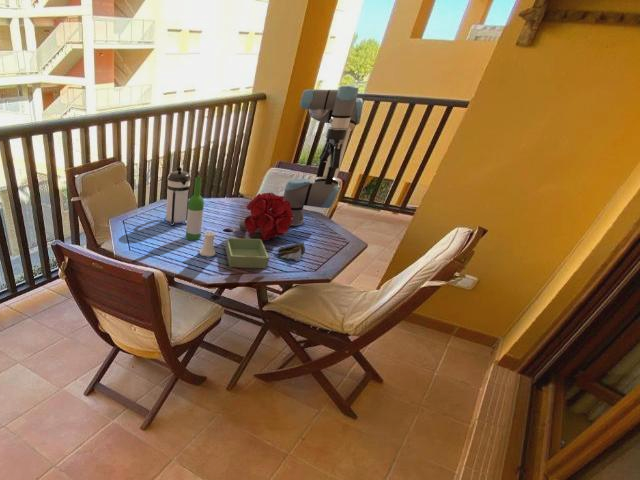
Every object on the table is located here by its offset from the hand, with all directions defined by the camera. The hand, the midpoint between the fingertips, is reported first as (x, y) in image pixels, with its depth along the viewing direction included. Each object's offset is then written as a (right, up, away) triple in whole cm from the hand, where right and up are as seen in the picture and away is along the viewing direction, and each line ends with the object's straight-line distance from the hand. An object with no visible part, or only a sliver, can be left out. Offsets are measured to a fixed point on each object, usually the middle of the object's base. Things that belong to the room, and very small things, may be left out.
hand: (323, 180), depth 178 cm
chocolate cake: (-14, -35, +5) cm, 38 cm away
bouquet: (-20, -19, +27) cm, 38 cm away
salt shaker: (-13, -1, +50) cm, 52 cm away
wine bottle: (-56, -20, +26) cm, 65 cm away
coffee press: (-63, -5, +47) cm, 79 cm away
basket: (-35, -35, +5) cm, 49 cm away
